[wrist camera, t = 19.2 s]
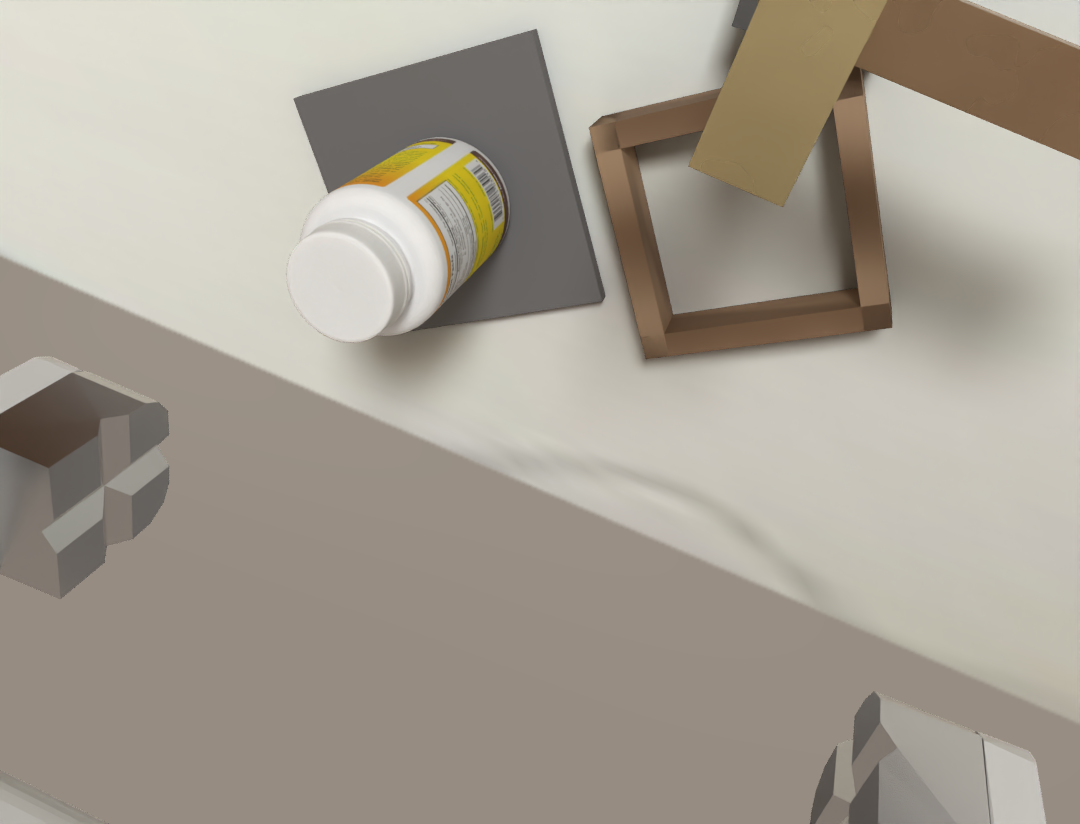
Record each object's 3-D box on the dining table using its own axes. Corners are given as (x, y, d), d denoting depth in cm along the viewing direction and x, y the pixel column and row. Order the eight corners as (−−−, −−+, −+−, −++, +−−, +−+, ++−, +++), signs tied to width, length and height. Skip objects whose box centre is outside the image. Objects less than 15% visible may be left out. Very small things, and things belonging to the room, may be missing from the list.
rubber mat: (605, 295, 40) (602, 301, 39) (386, 330, 44) (381, 335, 44) (536, 28, 35) (532, 31, 35) (300, 95, 40) (293, 98, 39)
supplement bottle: (374, 219, 41) (244, 309, 32) (421, 107, 38) (289, 173, 29) (482, 287, 41) (380, 394, 32) (537, 180, 38) (440, 267, 29)
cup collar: (891, 307, 36) (892, 327, 35) (655, 339, 40) (645, 359, 39) (860, 55, 33) (859, 64, 31) (602, 116, 36) (588, 127, 35)
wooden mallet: (757, 48, 30) (678, 162, 18) (846, -156, 27) (825, -183, 15) (1143, 210, 29) (1335, 447, 17) (1286, 19, 26) (1651, 142, 14)
